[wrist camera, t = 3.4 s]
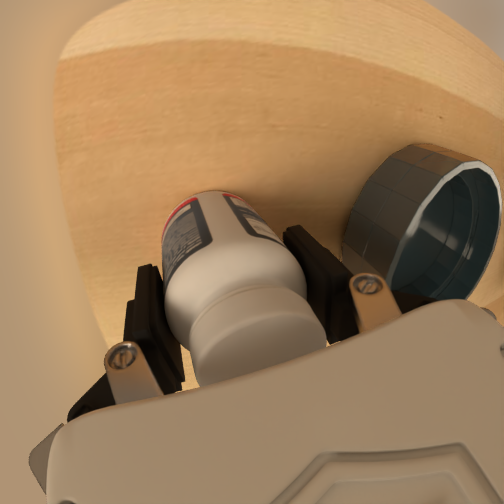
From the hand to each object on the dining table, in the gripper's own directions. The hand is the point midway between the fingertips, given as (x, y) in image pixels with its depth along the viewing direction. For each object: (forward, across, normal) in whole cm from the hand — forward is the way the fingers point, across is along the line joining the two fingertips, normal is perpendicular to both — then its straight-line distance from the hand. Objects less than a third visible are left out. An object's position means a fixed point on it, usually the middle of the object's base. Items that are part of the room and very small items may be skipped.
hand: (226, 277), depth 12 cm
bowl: (+4, -14, +3) cm, 15 cm away
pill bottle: (+4, 0, 0) cm, 4 cm away
